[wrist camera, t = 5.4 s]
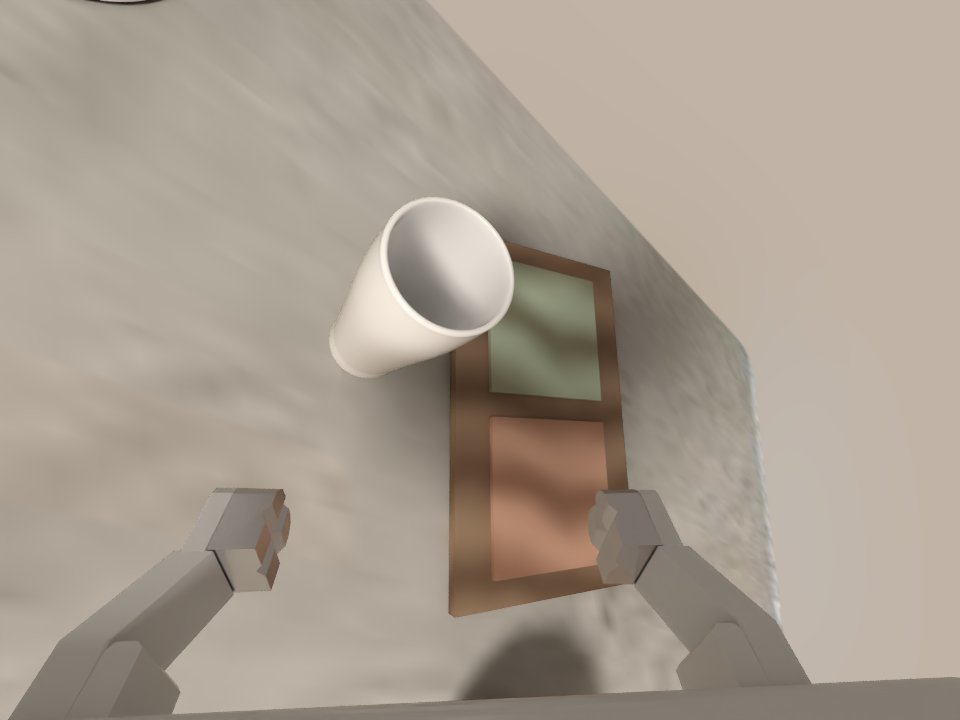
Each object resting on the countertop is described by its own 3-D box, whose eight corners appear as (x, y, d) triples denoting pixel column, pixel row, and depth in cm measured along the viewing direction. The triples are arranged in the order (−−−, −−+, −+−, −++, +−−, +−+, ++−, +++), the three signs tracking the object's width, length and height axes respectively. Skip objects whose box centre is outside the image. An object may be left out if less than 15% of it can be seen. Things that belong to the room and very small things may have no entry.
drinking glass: (407, 306, 34) (512, 212, 22) (409, 391, 33) (522, 344, 20) (317, 294, 31) (379, 175, 18) (314, 388, 29) (379, 330, 17)
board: (451, 233, 38) (458, 225, 37) (602, 274, 46) (612, 269, 45) (448, 613, 31) (457, 619, 30) (627, 579, 39) (639, 582, 38)
